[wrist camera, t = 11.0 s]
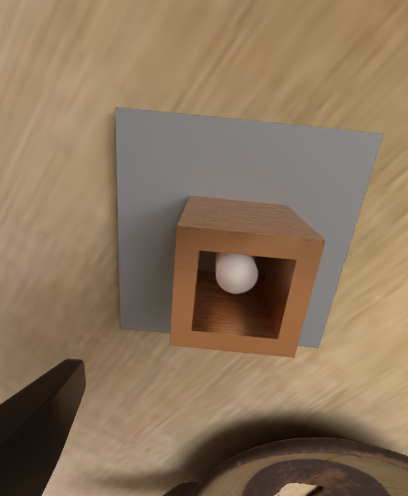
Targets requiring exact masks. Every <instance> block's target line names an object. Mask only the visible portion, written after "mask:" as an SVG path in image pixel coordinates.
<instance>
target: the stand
mask: <svg viewBox="0 0 408 496" xmlns="http://www.w3.org/2000/svg"><path fill="white" fill-rule="evenodd" d="M115 115H116V159H117V203H118V247H119V291H120V328H123V329H133V330H143V331H153V332H163V333H171V316H172V299H173V282H174V265H175V248H176V231H177V224H178V222H179V220H180V217H181V215H182V213H183V211H184V208H185V206H186V204H187V202H188V199H189V197H190V196H200V197H211V198H221V199H231V200H241V201H251V202H261V203H271V204H281V205H288V206H289V207H290V208H291V209H292V210H293V211H294V212H295V213H296V214H297V215H299V216H300V217H301V218H302V219H303V220H304V221H305V222H306V223H307V224H308V225H309V226H311V227H312V228H313V229H314V230H315V231H316V232H317V233H318V234H319V235H320V236H321V237H323V238H324V239H325V240H326V241H325V245H324V249H323V253H322V256H321V260H320V264H319V267H318V271H317V275H316V279H315V282H314V286H313V290H312V294H311V297H310V301H309V305H308V308H307V312H306V316H305V320H304V323H303V327H302V331H301V335H300V338H299V342H298V346H304V347H314V348H319V345H320V341H321V338H322V335H323V332H324V328H325V325H326V322H327V318H328V315H329V312H330V308H331V305H332V302H333V299H334V295H335V292H336V289H337V285H338V282H339V279H340V275H341V272H342V269H343V266H344V262H345V259H346V256H347V252H348V249H349V246H350V242H351V239H352V236H353V233H354V229H355V226H356V223H357V219H358V216H359V213H360V209H361V206H362V203H363V200H364V196H365V193H366V190H367V186H368V183H369V180H370V177H371V173H372V170H373V167H374V163H375V160H376V157H377V153H378V150H379V147H380V144H381V140H382V137H383V134H384V133H374V132H364V131H353V130H343V129H333V128H323V127H313V126H303V125H292V124H282V123H272V122H262V121H252V120H241V119H231V118H221V117H211V116H201V115H190V114H180V113H170V112H160V111H150V110H140V109H129V108H119V107H115ZM261 259H262V256H252V255H242V254H232V253H222V252H212V251H201V253H200V264H199V270H200V271H210V272H216V280H217V282H218V284H219V286H220V287H221V288H222V289H224V290H225V291H227V292H230V293H236V294H237V293H243V292H246V291H248V290H249V289H251V288H252V287H253V286H254V285H255V283H256V281H257V278H258V275H259V270H260V264H261Z"/></svg>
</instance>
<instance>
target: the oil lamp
mask: <svg viewBox="0 0 408 496" xmlns="http://www.w3.org/2000/svg"><path fill="white" fill-rule="evenodd" d="M289 483H299V484H302V483H304V484H309V485H319V486H323V487H322V489H319V490H318V491H317V492H316V493H315V494H313V495H311V496H408V456H406V455H403V454H400V453H397V452H393V451H390V450H387V449H383V448H380V447H376V446H373V445H369V444H364V443H360V442H356V441H352V440H347V439H341V438H334V437H330V438H294V439H286V440H281V441H276V442H272V443H267V444H263V445H260V446H257V447H254V448H251V449H249V450H246V451H243V452H241V453H239V454H237V455H235V456H233V457H231V458H229V459H228V460H226V461H224V462H222V463H221V464H219V465H218V466H217V467H215V468H214V469H213V470H212V471H211V472H210V473H209V474H208V475H207V476H206V477H205V478H203V479H202V480H201V481H200V483H198V482H187V483H182V484H179V485H178V486H176V487H174V488H173V489H172V490H170V491H169V492H167V493H166V494H165V495H163V496H274V495H276V494H277V493H278V492H279V491H280V489H281V488H282V487H284V486H285V485H287V484H289ZM277 495H278V494H277ZM278 496H279V495H278Z"/></svg>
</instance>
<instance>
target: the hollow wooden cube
mask: <svg viewBox="0 0 408 496" xmlns="http://www.w3.org/2000/svg"><path fill="white" fill-rule="evenodd" d="M325 241H326V240H325V239H324V238H323V237H321V236H320V235H319V234H318V233H317V232H316V231H315V230H314V229H313V228H312V227H311V226H309V225H308V224H307V223H306V222H305V221H304V220H303V219H302V218H301V217H300V216H299V215H297V214H296V213H295V212H294V211H293V210H292V209H291V208H290V207H289V206H288V205H281V204H271V203H261V202H251V201H241V200H231V199H221V198H211V197H200V196H190V197H189V199H188V202H187V204H186V206H185V208H184V211H183V213H182V215H181V217H180V220H179V222H178V224H177V231H176V248H175V265H174V282H173V299H172V316H171V334H170V345H173V346H183V347H193V348H203V349H213V350H223V351H233V352H243V353H253V354H263V355H273V356H283V357H293V358H294V357H295V353H296V349H297V346H298V342H299V338H300V335H301V331H302V327H303V323H304V320H305V316H306V312H307V308H308V305H309V301H310V297H311V294H312V290H313V286H314V282H315V279H316V275H317V271H318V267H319V264H320V260H321V256H322V253H323V249H324V245H325ZM201 251H212V252H222V253H232V254H242V255H252V256H262V259H261V264H260V270H259V275H258V278H257V281H256V283H255V285H254V286H253V287H252V288H251V289H249V290H248V291H246V292H243V293H237V294H236V293H230V292H227V291H225V290H224V289H222V288H221V287H220V286H219V284H218V282H217V280H216V272H210V271H200V270H199V264H200V253H201Z"/></svg>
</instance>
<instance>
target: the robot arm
mask: <svg viewBox="0 0 408 496" xmlns="http://www.w3.org/2000/svg"><path fill="white" fill-rule="evenodd" d="M85 386H86V380H85V368H84V362H83V361H82V360H79V359H66V360H64V361H62V362H61V363H60V364H58V365H57V366H55V367H54V368H52V369H51V370H49V371H48V372H47V373H45V374H44V375H42V376H41V377H39V378H38V379H36V380H35V381H33V382H32V383H31V384H29V385H28V386H26V387H25V388H23V389H22V390H20V391H19V392H18V393H16V394H15V395H13V396H12V397H10V398H9V399H7V400H6V401H5V402H3V403H2V404H0V496H42V494H43V492H44V490H45V488H46V485H47V483H48V481H49V479H50V477H51V475H52V473H53V471H54V469H55V467H56V464H57V462H58V460H59V458H60V455H61V453H62V450H63V448H64V445H65V443H66V440H67V437H68V435H69V432H70V429H71V427H72V424H73V421H74V418H75V416H76V413H77V410H78V408H79V405H80V402H81V400H82V397H83V394H84V391H85Z"/></svg>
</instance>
